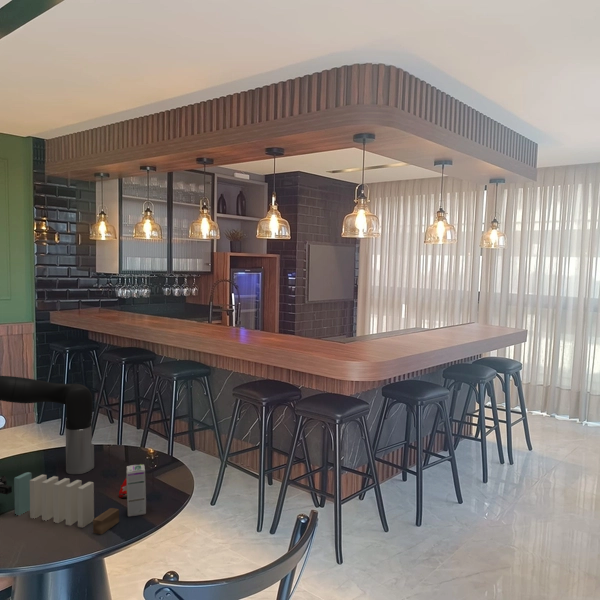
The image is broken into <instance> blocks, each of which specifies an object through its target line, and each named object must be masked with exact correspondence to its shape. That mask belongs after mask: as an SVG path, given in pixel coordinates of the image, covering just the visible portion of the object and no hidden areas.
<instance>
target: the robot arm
mask: <svg viewBox="0 0 600 600" xmlns="http://www.w3.org/2000/svg"><path fill="white" fill-rule="evenodd" d="M0 402H6V403H7V402H8V403H15V404H38V403H54V404H55V403H56V404H61V405H65V406H66V409H65V410H66V415H65V417H66V418H65V472H66V474H69V475H82V474H86V473H87V472H90V471H91V470H92V469H95V445H94V444H93V443H92V442H93V441H92V438H93V437H92V434H93V433H92V420H93V394H92V393H91V391H90V389H89V388H88V387H87V386H86V385H84V384H80V383H60V382H59V383H57V382H56V383H55V382H49V381H44V380H39V379H35V378H26V377H22V376H13V375H12V376H10V375H0ZM7 481H8V480H7V477H6V475H1V476H0V494H1V495H9V494H11V493H12V492H13V491H12V490H13V488H12V486H11V485H9V484H8V483H7ZM7 484H8V485H7Z"/></svg>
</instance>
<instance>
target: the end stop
mask: <svg viewBox="0 0 600 600" xmlns="http://www.w3.org/2000/svg"><path fill="white" fill-rule="evenodd" d="M118 523H120V509H119V508H115V507H110V508H108V509H106V511H104V512H103V513H100V514H99V515H97V516H96V517H94V519H93V521H92V529H93V530H92V531H93V532H92V533H93V534H98V535H103V534H105V533H106V532H107V531H108V530H110V529H111V528H113V527H114V526H116V525H117V524H118Z"/></svg>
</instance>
